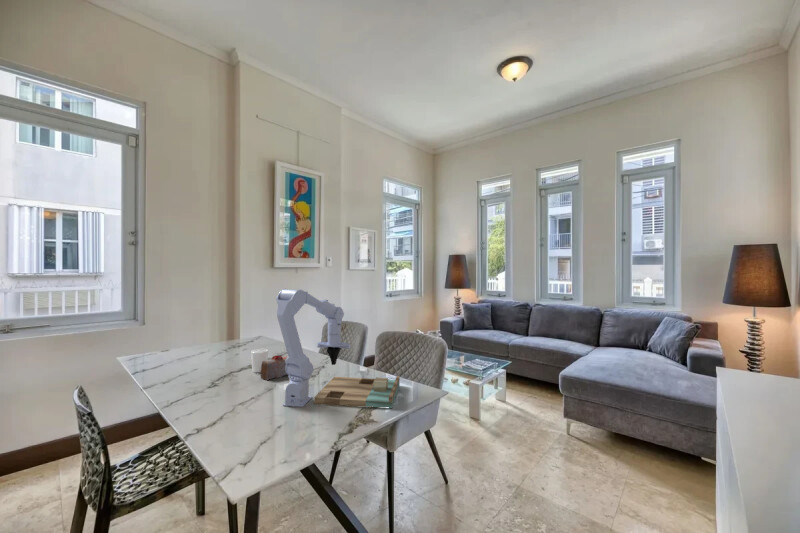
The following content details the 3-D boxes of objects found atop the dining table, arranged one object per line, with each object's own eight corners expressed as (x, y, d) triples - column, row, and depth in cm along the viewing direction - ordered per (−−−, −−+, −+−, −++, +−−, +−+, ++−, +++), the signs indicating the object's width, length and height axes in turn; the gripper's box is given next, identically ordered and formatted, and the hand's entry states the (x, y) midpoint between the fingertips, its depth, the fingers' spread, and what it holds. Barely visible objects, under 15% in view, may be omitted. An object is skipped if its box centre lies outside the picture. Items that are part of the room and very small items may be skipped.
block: (385, 392, 131) (386, 382, 131) (373, 391, 131) (373, 381, 131) (387, 387, 136) (388, 377, 136) (376, 386, 136) (376, 377, 136)
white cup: (263, 373, 159) (264, 352, 159) (247, 373, 159) (248, 352, 159) (270, 368, 167) (270, 348, 167) (255, 368, 167) (255, 348, 167)
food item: (285, 371, 163) (285, 351, 163) (294, 374, 158) (294, 354, 158) (259, 378, 153) (259, 357, 153) (268, 382, 148) (268, 360, 148)
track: (391, 409, 121) (391, 397, 121) (314, 404, 124) (314, 392, 124) (399, 385, 145) (399, 376, 145) (334, 382, 148) (334, 372, 148)
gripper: (352, 332, 147) (352, 362, 147) (321, 331, 149) (321, 360, 149) (348, 335, 140) (347, 367, 140) (315, 334, 142) (315, 365, 142)
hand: (333, 364), depth 144 cm, fingers closed
